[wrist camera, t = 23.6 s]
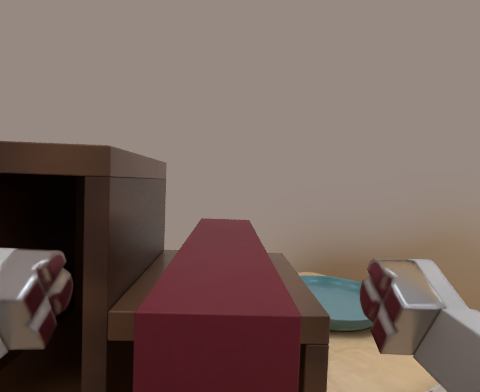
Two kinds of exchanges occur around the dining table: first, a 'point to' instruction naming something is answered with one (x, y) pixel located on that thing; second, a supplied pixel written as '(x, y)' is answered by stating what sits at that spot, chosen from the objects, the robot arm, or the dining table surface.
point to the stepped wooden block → (107, 263)
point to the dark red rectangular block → (218, 318)
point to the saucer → (339, 301)
